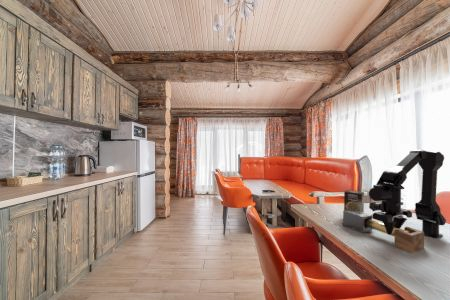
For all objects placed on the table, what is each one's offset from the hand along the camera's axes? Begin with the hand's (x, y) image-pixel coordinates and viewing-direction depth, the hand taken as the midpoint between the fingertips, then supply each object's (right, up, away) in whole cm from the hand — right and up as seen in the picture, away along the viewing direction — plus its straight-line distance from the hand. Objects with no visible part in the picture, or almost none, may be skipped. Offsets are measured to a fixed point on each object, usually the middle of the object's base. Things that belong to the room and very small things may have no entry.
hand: (392, 233), depth 93 cm
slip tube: (-2, -1, +4) cm, 4 cm away
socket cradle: (+2, -3, -6) cm, 7 cm away
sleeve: (-6, -3, +15) cm, 16 cm away
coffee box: (0, -3, +28) cm, 28 cm away
